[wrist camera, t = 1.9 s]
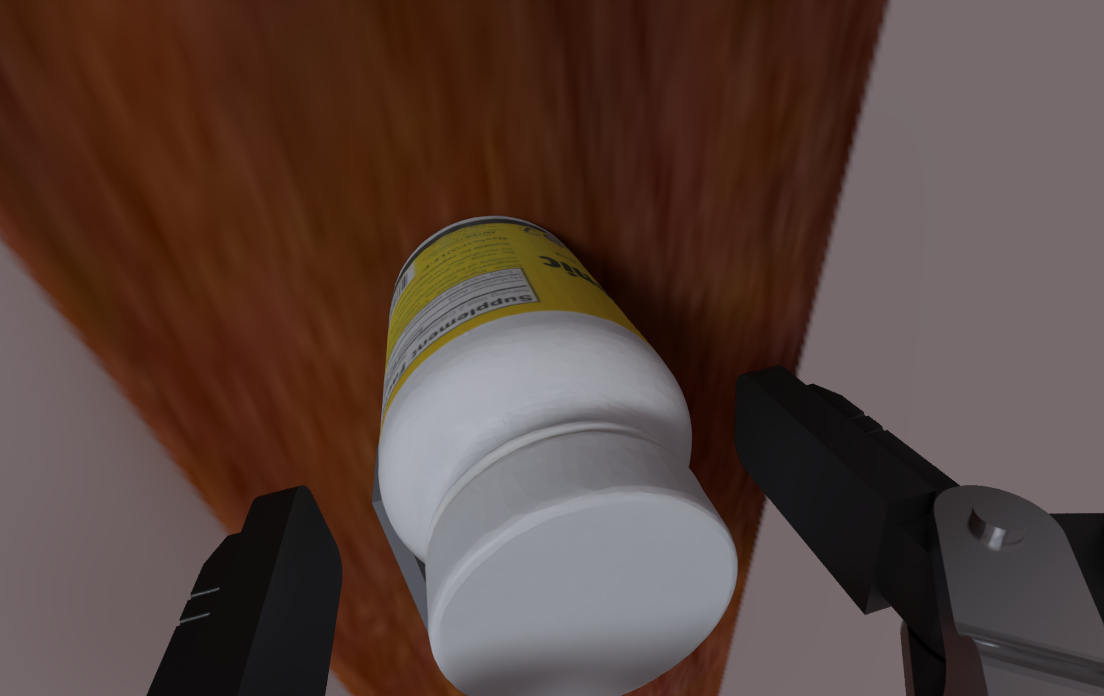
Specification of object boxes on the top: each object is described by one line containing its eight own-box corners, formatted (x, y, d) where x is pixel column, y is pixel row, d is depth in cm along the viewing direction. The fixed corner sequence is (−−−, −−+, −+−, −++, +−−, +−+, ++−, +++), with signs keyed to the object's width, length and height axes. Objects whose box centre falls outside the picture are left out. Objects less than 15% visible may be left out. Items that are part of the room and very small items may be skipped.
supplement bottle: (611, 336, 16) (819, 631, 8) (453, 416, 16) (495, 792, 8) (538, 171, 14) (739, 358, 5) (348, 269, 14) (244, 610, 5)
